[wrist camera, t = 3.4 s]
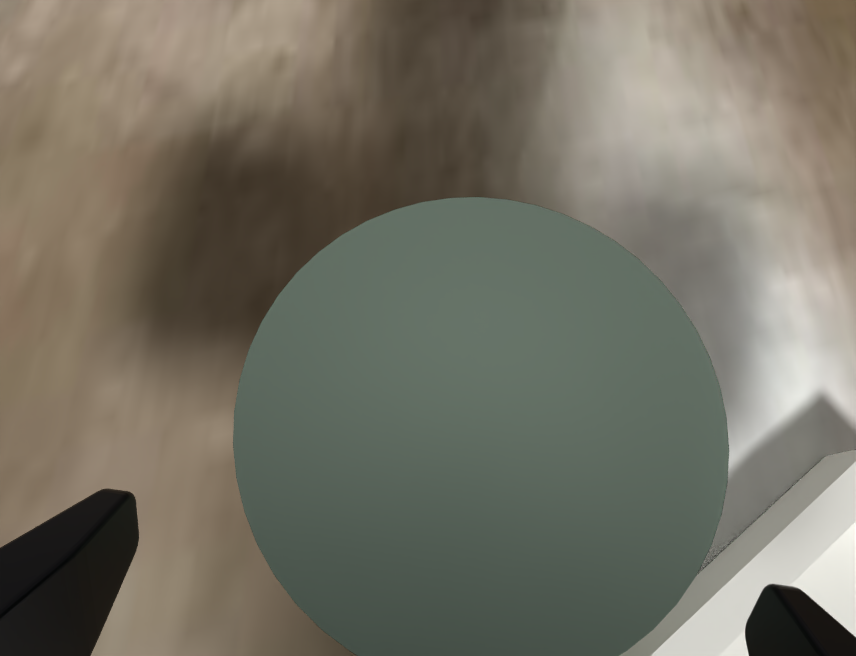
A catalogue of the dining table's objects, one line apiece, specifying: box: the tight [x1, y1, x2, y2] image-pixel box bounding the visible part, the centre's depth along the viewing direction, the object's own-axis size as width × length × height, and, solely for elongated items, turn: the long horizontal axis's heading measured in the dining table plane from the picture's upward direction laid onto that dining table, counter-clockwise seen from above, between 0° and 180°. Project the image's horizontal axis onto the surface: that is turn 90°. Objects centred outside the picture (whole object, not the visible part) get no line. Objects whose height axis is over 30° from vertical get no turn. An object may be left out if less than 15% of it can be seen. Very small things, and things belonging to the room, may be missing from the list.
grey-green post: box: [233, 197, 729, 656], centre depth 13 cm, size 5×5×12 cm
